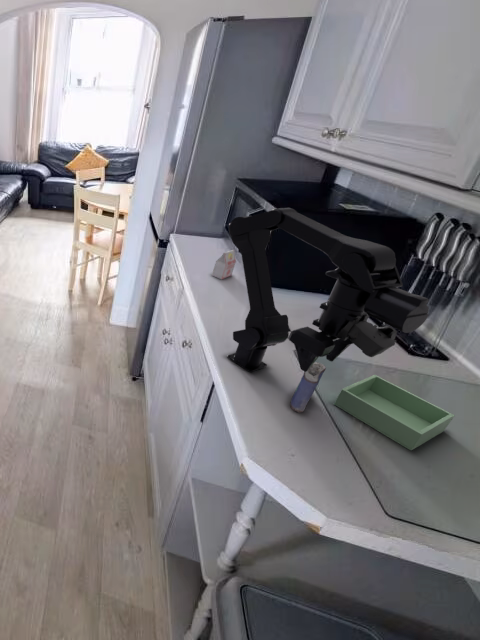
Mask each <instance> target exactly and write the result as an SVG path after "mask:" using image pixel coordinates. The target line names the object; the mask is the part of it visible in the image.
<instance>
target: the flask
mask: <svg viewBox="0 0 480 640" xmlns="http://www.w3.org/2000/svg"><path fill="white" fill-rule="evenodd" d="M326 369H327V367H326V365H325V364H323V363H321V362H317V361H315V362H314V364H313V365H312V366H311V367H310V369H309V370H308V371H307V372H305V371H303V374H302V377H301V379H300V381H299V383H298V384H297V387H296V389H295V391H294V393H293V395H292V397H291V400H290V403H289V406H290V409H291V410H292V411H294V412H297V413H299V414H300V413H303V412H305V408H306V407H307V404H309V401H310V400H311V398H312V396H313V394H314V392H315V390H316V388H317V387H318V385H319V383H320V381H321V379H322V376H323V374H324V373H325V372H326Z"/></svg>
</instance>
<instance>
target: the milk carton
mask: <svg viewBox="0 0 480 640" xmlns="http://www.w3.org/2000/svg"><path fill="white" fill-rule="evenodd" d="M236 263H237V259H236V249H231V250H228V251H225V252H223V253H222V255H221V256H220V257H218V259H217V260H215V263H214V267H213V269H212V272H211V276H213V277H215V278H217V279H219V280H224V279H227V278H229V277H232V275H233V272H234V269H235V266H236Z"/></svg>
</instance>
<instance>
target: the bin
mask: <svg viewBox="0 0 480 640" xmlns="http://www.w3.org/2000/svg"><path fill="white" fill-rule="evenodd" d="M333 406H336V407H338V408H339V409H341V410H342V411H344V412H346V413H347V414H349V415H351V416H352V417H354V418H356V419H357V420H359V421H361V422H362V423H364V424H365V425H367V426H368V427H371V428H372V429H374V430H375V431H377V432H379V433H380V434H382V435H384V436H386V437H387V438H388V439H391V440H392V441H394V442H395V443H397V444H399V445H400V446H402V447H404V448H406V449H407V450H409V451H413V450H414V449H416V448H418V447H420V446H422V445H424V444H425V443H426V442H428V441H430V440H431V439H433V438H435V437H437V436H438V435H440V434H442V433H443V432H445V431H446V429H447V428H448V426H449V425H450V423H451V422H452V421H453V419H454V417H455V416H456V415H455V414H453V413H451V412H449V411H447V410H446V409H443V408H442V407H440V406H437V405H435V404H433V403H431V402H429V401H428V400H426V399H424V398H422V397H420V396H418V395H416V394H414V393H412V392H410V391H409V390H406V389H404V388H402V387H401V386H398V385H396V384H395V383H392V382H391V381H389V380H387V379H384V378H382V377H381V376H379V375H377V374H373V375H371V376H368V377H366V378H364V379H362V380H359V381H358V382H355V383H353V384H350V385H348V386H345V387H344V388H341V390H340V392H339V394H338V396H337V398H336V400H335V401H334V403H333Z"/></svg>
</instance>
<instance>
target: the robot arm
mask: <svg viewBox="0 0 480 640" xmlns="http://www.w3.org/2000/svg"><path fill="white" fill-rule="evenodd" d="M279 229H280V230H282V231H284V232H286V233H288V234H289V235H292V236H294V237H295V238H297V239H299V240H301V241H303V242H304V243H306V244H308V245H310V246H312V247H314V248H315V249H318V250H319V251H321V252H323V253H324V254H325V255H326V256H327V257H328V258H329V260H330V261H331V263H332V264H333V265H335V267H337V268H336V269H333V270H328V271H326V272H325V275H326V276H328V277H331V278H333V279H336V281H335V283H334V285H333V288H332V289H331V292H330V294H329V295H328V298H327V300H326V301H325V302H322V303H321V304H320V305H319V309H322V311H321V314H320V316H319V317H318V318H316V319H313V321H312V323H311V325H312V326H314V327H316V328H318V330H319V331H318V330H316V329H313V328H311V327H309V326H303V327H299V328H296V329H294V330H291V328H290V326H289V317H288V315H287V314H281V313H280V312H279V311H278V309H277V308H276V306H275V301H274V300H275V299H274V294H273V287H272V282H271V275H270V270H269V264H268V258H267V252H266V249H267V247H268V244H269V242H270V240H271V231H275V230H279ZM228 233H229V237H230V239H231V242H232V244H233V246H235V247H236V248H237V250H238V251H239V252H240V255H241V260H242V266H243V273H244V279H245V285H246V291H247V297H248V304H249V311H248V313H247V315H246V318H245V319H244V325H245V326H244V328H243V329H240V330H235V331H233V332H232V340H233V341H234V342H236V343H237V346H236V350H235V352H234V353H230V354H228V355H227V356H226V357H227V359H228V360H230V361H232V362H233V363H234V364H236V365H238V366H239V367H241V368H242V369H244V370H246V371H247V372H249V373H253V372H256V371H259V370H261V369H264V368H266V367H267V366H268V364H267V363H265V362H264V361H263V359H264V356H265V354H266V351H267V349H268V347H274V346H276V345H278V344H282V343H284V342H285V341H287V339H288V341H289V342H291V343H292V344H293V345H294V348H295V352H296V356H297V359H298V364H299V368H300V370H301V371H303V372H307V371H308V370H309V369H310V367H311V366H312V365H313V364H314V362H317V360H318V358H323V357H325V358H326V360H327V361H329V362H331V363H332V362H334V361H335V360H337V358H338V357H339V356H340V355H341V354H342V353H343V352H344V351H346V349H348V348H349V347H350V346H351V345H355V346H356V347H357V348H358V349H359V350H361V352H362V353H363V354H364V355H365V356H367V357H369V358H373V357H376V356H378V355H381V354H383V353H384V352H386V351H387V350H389V349H390V348H392V347H394V346H395V345H396V342H397V340H396V336H397V334H398V331H400V332H402V333H404V334H410V333H412V332H415V331H416V330H417V329H418V328H420V327H421V326H422V325H423V324H424V323H425V322H426V321H427V319H428V318H429V315H430V314H429V306H428V305H427V304H428V303H429V301H430V300H429V298H428V297H425V296H422V295H420V294H419V295H418V294H415V293H412V292H409V291H406V290H404V289H401V288H400V287H403V281H402V278H401V276H400V273H399V270H398V268H397V266H396V264H397V258H396V253H395V251H394V250H393V249H392V248H390V247H389V246H387V245H383V244H380V243H376V242H373V241H370V240H367V239H366V240H365V239H360V238H355V237H351V236H347V235H345V234H344V233H343V234H342V233H341V232H339V231H337V230H334V229H333V228H330V227H328V226H327V225H324V224H322V223H320V222H318V221H316V220H314V219H312V218H310V217H308V216H306V215H303V214H301V213H299V212H298V211H297V210H296V209H294V208H291V207H280V208H273V209H271V210H268V211H264V212H262V213H257V214H254V215H244V216H243V215H242V216H236V217H234V218H233V219H232V220H231V221H230V223H229V224H228ZM378 275H379V276H380V277H377V278H372V276H378ZM370 317H371V318H372V319H374V320H377V321H379V322H382V323H384V324H386V325H387V326H385V325H384V326H380V327H378V325H377V324H373V323H371V322H370V321H368V319H369V318H370ZM397 330H398V331H397Z"/></svg>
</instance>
